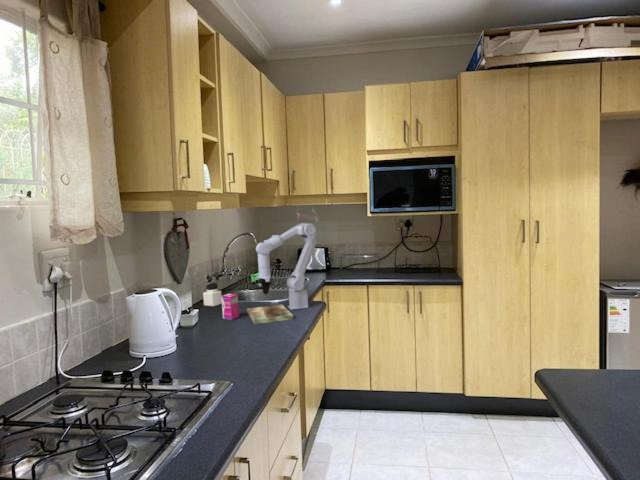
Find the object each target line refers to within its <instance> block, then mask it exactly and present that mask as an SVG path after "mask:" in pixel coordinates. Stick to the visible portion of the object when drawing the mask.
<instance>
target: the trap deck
mask: <svg viewBox="0 0 640 480" xmlns="http://www.w3.org/2000/svg"><path fill="white" fill-rule="evenodd" d="M276 305H277V306H278V307H279V314H280V316H278V317H270V318H267V317H266V316H265V315H264V307H265V306H258V307H250V308H249V307H248V308H247V309H246V310H247V311H246V312H247V314H248V316H249V317H250V319H251V321H252V322H253V323H254V325H259V324H260V323H261V324H267V323H268V322H269V323H275V322H276V321H277V322H283V321H284V320H285V321H289V320H290V321H292V320H294V315H293V313H292V312H291V311H290V310H289V309H288V308H287V307H285V306H284V304H276ZM269 323H268V324H269ZM261 324H260V325H261Z"/></svg>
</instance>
